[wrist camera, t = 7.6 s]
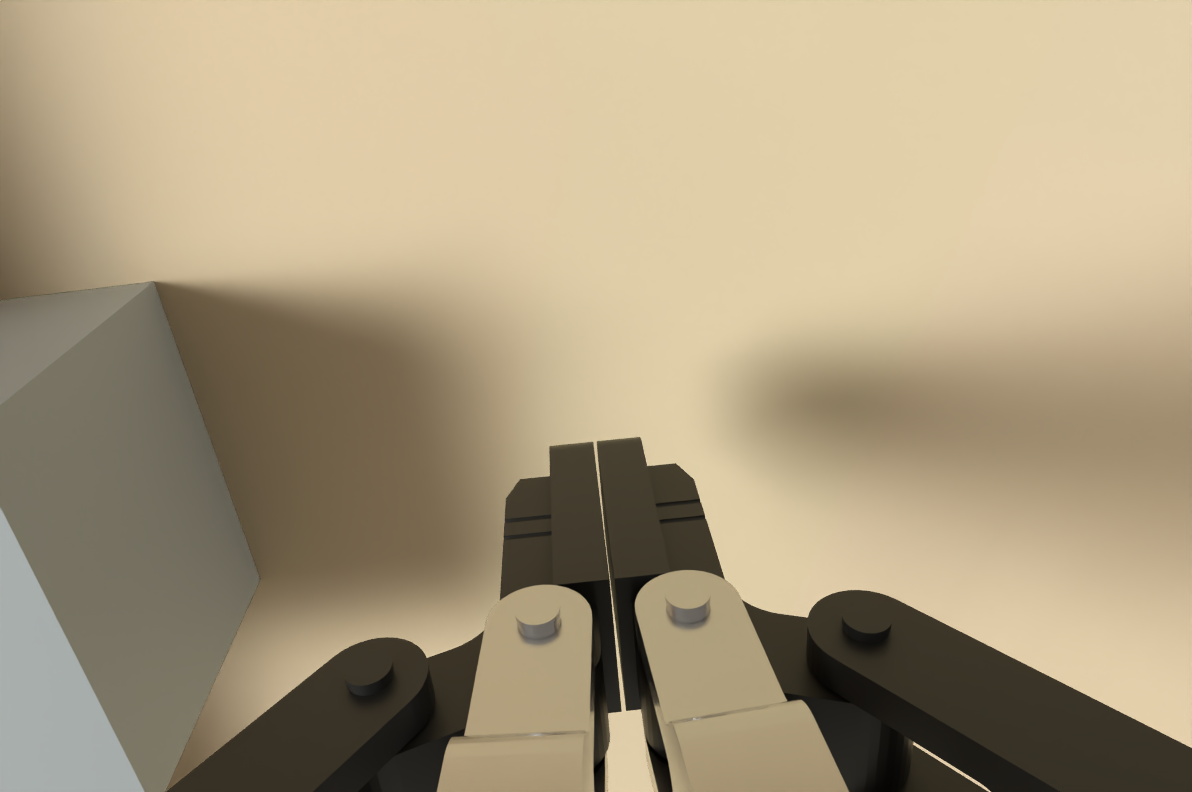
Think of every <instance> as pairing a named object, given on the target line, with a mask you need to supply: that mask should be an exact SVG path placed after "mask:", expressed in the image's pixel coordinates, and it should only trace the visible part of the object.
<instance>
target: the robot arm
mask: <svg viewBox="0 0 1192 792" xmlns="http://www.w3.org/2000/svg"><path fill="white" fill-rule="evenodd" d="M549 449H550V476H549V477H539V478H529V479H520V480H519V482H518V483H517V484H516V486H515V487H514V489H513V490H512V491H511V493H510V494H509V495H508V497H507V498H506V509H505V526H504V543H503V559H502V576H501V593H500V601H499V602H498V603H497V604H496V605H495V606H494V607H493V608H492V610H491V611H490V613H489V615H488V617H487V620H486V623H485V629H484V631H483V632H482V633H481V634H480V635H478V636H477V637H475V638H474V639H472V640H471V641H469V642H467V643H465V644H463V645H461V646H459V647H457V648H454V649H452V650H449V651H446V652H443V653H440V654H437V655H435V656H432V657H429V658H426V656H425V654H424V652H423V651H422V650H421V649H420V648H419V647H418V646H417V645H415V644H414V643H412V642H409V641H407V640H404V639H399V638H376V639H371V640H367V641H364V642H360V643H358V644H355V645H353V646H351V647H349V648H347V649H345V650H343V651H342V652H340V653H339V654H337V655H336V656H334V657H333V658H332V659H331V660H329V661H328V662H327V663H326V664H324V665H323V666H322V667H321V668H319V669H318V670H317V671H316V672H314V673H313V674H312V675H311V676H309V677H308V678H307V679H306V680H305V681H303V682H302V683H301V684H300V685H298V686H297V687H296V688H295V689H293V690H292V691H291V692H290V693H288V694H287V695H286V696H285V697H283V698H282V699H281V700H280V701H278V702H277V703H276V704H275V705H273V706H272V707H271V708H270V709H268V710H267V711H266V712H265V713H264V714H262V715H261V716H260V717H259V718H257V719H256V720H255V721H254V722H252V723H251V724H250V725H249V726H247V727H246V728H245V729H244V730H242V731H241V732H240V733H239V734H237V735H236V736H235V737H234V738H232V739H231V740H230V741H229V742H228V743H226V744H225V745H224V746H223V747H221V748H220V749H219V750H218V751H216V752H215V753H214V754H213V755H211V756H210V757H209V758H208V759H206V760H205V761H204V762H203V763H201V764H200V765H199V766H198V767H196V768H195V769H194V770H193V771H192V772H190V773H189V774H188V775H187V776H185V777H184V778H183V779H182V780H180V781H179V782H178V783H177V784H175V785H174V786H173V787H172V788H170V789H169V790H168V791H167V792H608V761H607V750H608V746H609V742H610V732H609V721H608V713H613V712H621V701H620V690H619V679H618V668H617V657H616V646H615V636H614V625H613V614H612V603H611V592H610V581H609V572H610V580H611V589H612V597H613V605H614V613H615V622H616V630H617V638H618V647H619V655H620V663H621V671H622V680H623V688H624V696H625V705H626V711H629V710H638V709H641V711H642V718H643V725H644V735H645V748H646V759H647V764H648V769H649V773H650V777H651V782H652V786H653V790H654V792H988V791H986V790H985V789H983V788H981V787H980V786H978V785H977V784H975V783H973V782H972V781H970V780H969V779H967V778H965V777H964V776H962V775H961V774H959V773H957V772H956V771H954V770H953V769H951V768H949V767H948V766H946V765H945V764H943V763H941V762H940V761H938V760H937V759H935V758H933V757H932V756H930V755H929V754H927V753H925V752H924V751H922V750H921V749H919V748H917V747H916V746H914V745H913V741H914V742H915V743H917V744H918V745H920V746H922V747H923V748H925V749H927V750H928V751H930V752H931V753H933V754H935V755H936V756H938V757H939V758H941V759H943V760H944V761H946V762H947V763H949V764H951V765H952V766H954V767H955V768H957V769H959V770H960V771H962V772H964V773H965V774H967V775H968V776H970V777H972V778H973V779H975V780H976V781H978V782H980V783H981V784H982V785H984V786H985V787H986V788H988V789H989V790H990V791H991V792H1192V748H1190V747H1188V746H1186V745H1184V744H1182V743H1180V742H1178V741H1176V740H1174V739H1172V738H1170V737H1168V736H1166V735H1164V734H1162V733H1161V732H1159V731H1157V730H1155V729H1153V728H1151V727H1149V726H1147V725H1145V724H1143V723H1141V722H1139V721H1137V720H1135V719H1133V718H1131V717H1129V716H1127V715H1125V714H1123V713H1121V712H1119V711H1117V710H1115V709H1113V708H1111V707H1109V706H1107V705H1105V704H1103V703H1101V702H1099V701H1097V700H1095V699H1093V698H1091V697H1089V696H1087V695H1085V694H1083V693H1081V692H1079V691H1077V690H1075V689H1073V688H1071V687H1069V686H1067V685H1065V684H1063V683H1061V682H1059V681H1057V680H1055V679H1053V678H1051V677H1049V676H1047V675H1045V674H1043V673H1041V672H1039V671H1037V670H1035V669H1033V668H1031V667H1029V666H1027V665H1025V664H1023V663H1021V662H1019V661H1017V660H1015V659H1013V658H1011V657H1009V656H1007V655H1005V654H1003V653H1001V652H1000V651H998V650H996V649H994V648H992V647H990V646H988V645H986V644H984V643H982V642H980V641H978V640H976V639H974V638H972V637H970V636H968V635H966V634H964V633H962V632H960V631H958V630H956V629H954V628H952V627H950V626H948V625H946V624H944V623H942V622H940V621H938V620H936V619H934V618H932V617H930V616H928V615H926V614H924V613H922V612H920V611H918V610H916V609H914V608H912V607H910V606H908V605H906V604H904V603H902V602H900V601H898V600H896V599H894V598H891V597H889V596H886V595H883V594H880V593H876V592H871V591H862V590H848V591H841V592H837V593H834V594H831V595H828V596H826V597H824V598H823V599H821V600H820V601H818V602H817V603H816V604H815V605H814V606H813V608H812V609H811V611H810V613H809V616H808V618H806V617H798V616H790V615H783V614H777V613H771V612H768V611H764V610H761V609H759V608H756V607H754V606H751V605H750V604H748V603H746V602H744V601H743V600H742V599H741V597H740V595H739V593H738V592H737V590H736V589H735V588H734V587H733V586H732V585H731V584H730V583H729V582H728V581H726V580H725V578H724V575H723V572H722V569H721V566H720V562H719V559H718V556H717V553H716V550H715V546H714V543H713V540H712V537H711V533H710V530H709V527H708V524H707V521H706V519H705V514H704V511H703V508H702V504H701V503H700V498H699V495H698V491H697V488H696V485H695V482H694V479H693V478H692V477H690V476H689V475H688V474H687V473H686V472H685V471H684V470H683V469H681V468H680V467H679V466H678V465H677V464H676V463H675V464H666V465H656V466H647V464H646V459H645V455H644V450H643V446H642V441H641V438H640V437H636V438H626V439H616V440H606V441H597V450H598V462H599V472H600V483H601V494H602V505H603V516H604V527H605V537H606V546H607V555H608V564H609V572H608V564H607V555H606V547H605V539H604V530H603V522H602V513H601V505H600V496H599V488H598V480H597V471H596V463H595V454H594V446H593V442H587V443H578V444H568V445H558V446H550V448H549Z"/></svg>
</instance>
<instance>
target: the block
mask: <svg viewBox="0 0 1192 792" xmlns="http://www.w3.org/2000/svg"><path fill="white" fill-rule="evenodd" d="M259 581H260V577H259V574H258V572H257V569H256V566H255V563H254V560H253V558H252V555H251V552H250V549H249V546H248V544H247V541H246V538H245V535H244V532H243V530H242V527H241V524H240V521H239V518H238V516H237V513H236V510H235V507H234V504H233V502H232V499H231V496H230V493H229V490H228V488H227V485H226V482H225V479H224V476H223V474H222V471H221V468H220V465H219V462H218V460H217V457H216V454H215V451H214V448H213V446H212V443H211V440H210V437H209V434H208V432H207V429H206V426H205V423H204V421H203V418H202V415H201V412H200V409H199V407H198V404H197V401H196V398H195V395H194V393H193V390H192V387H191V384H190V381H189V379H188V376H187V373H186V370H185V367H184V365H183V362H182V359H181V356H180V353H179V351H178V348H177V345H176V342H175V339H174V337H173V334H172V331H171V328H170V325H169V323H168V320H167V317H166V314H165V311H164V309H163V306H162V303H161V300H160V297H159V295H158V292H157V289H156V286H155V283H154V281H153V282H145V283H137V284H129V285H120V286H112V287H104V288H96V289H88V290H80V291H72V292H63V293H55V294H47V295H39V296H31V297H23V298H15V299H6V300H0V792H165V791H166V789H167V787H168V785H169V782H170V780H171V778H172V776H173V773H174V771H175V769H176V767H177V764H178V762H179V760H180V758H181V755H182V753H183V751H184V749H185V747H186V744H187V742H188V740H189V738H190V735H191V733H192V731H193V729H194V726H195V724H196V722H197V720H198V718H199V715H200V713H201V711H202V709H203V706H204V704H205V702H206V700H207V697H208V695H209V693H210V691H211V689H212V686H213V684H214V682H215V680H216V677H217V675H218V673H219V671H220V668H221V666H222V664H223V662H224V659H225V657H226V655H227V653H228V651H229V648H230V646H231V644H232V642H233V639H234V637H235V635H236V633H237V630H238V628H239V626H240V624H241V622H242V619H243V617H244V615H245V613H246V610H247V608H248V606H249V604H250V601H251V599H252V597H253V595H254V593H255V590H256V588H257V586H258V584H259Z"/></svg>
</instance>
